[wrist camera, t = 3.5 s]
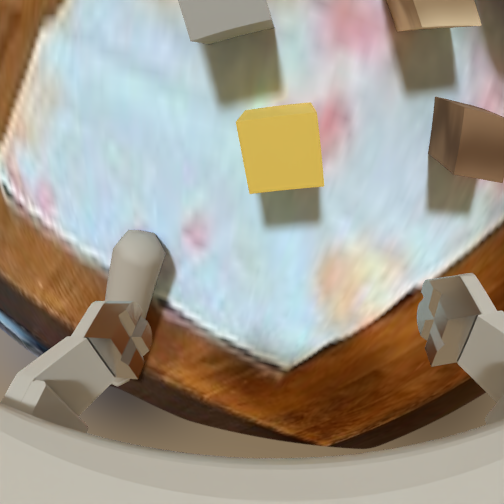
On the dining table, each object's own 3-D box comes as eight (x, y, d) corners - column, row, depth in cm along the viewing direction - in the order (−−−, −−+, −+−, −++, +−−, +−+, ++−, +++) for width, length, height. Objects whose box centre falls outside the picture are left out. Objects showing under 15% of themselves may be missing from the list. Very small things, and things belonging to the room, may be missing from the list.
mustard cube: (245, 110, 23) (235, 122, 19) (310, 102, 22) (316, 112, 18) (255, 169, 25) (249, 193, 21) (317, 162, 25) (324, 186, 20)
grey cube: (192, -10, 17) (170, -24, 13) (257, -28, 16) (250, -48, 12) (209, 44, 20) (190, 41, 16) (274, 28, 19) (271, 19, 15)
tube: (103, 232, 26) (90, 368, 39) (147, 266, 25) (118, 392, 39) (141, 212, 30) (112, 348, 44) (182, 241, 30) (139, 369, 43)
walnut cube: (434, 96, 20) (464, 107, 16) (481, 108, 19) (514, 122, 15) (427, 153, 23) (453, 174, 19) (473, 161, 22) (502, 182, 18)
